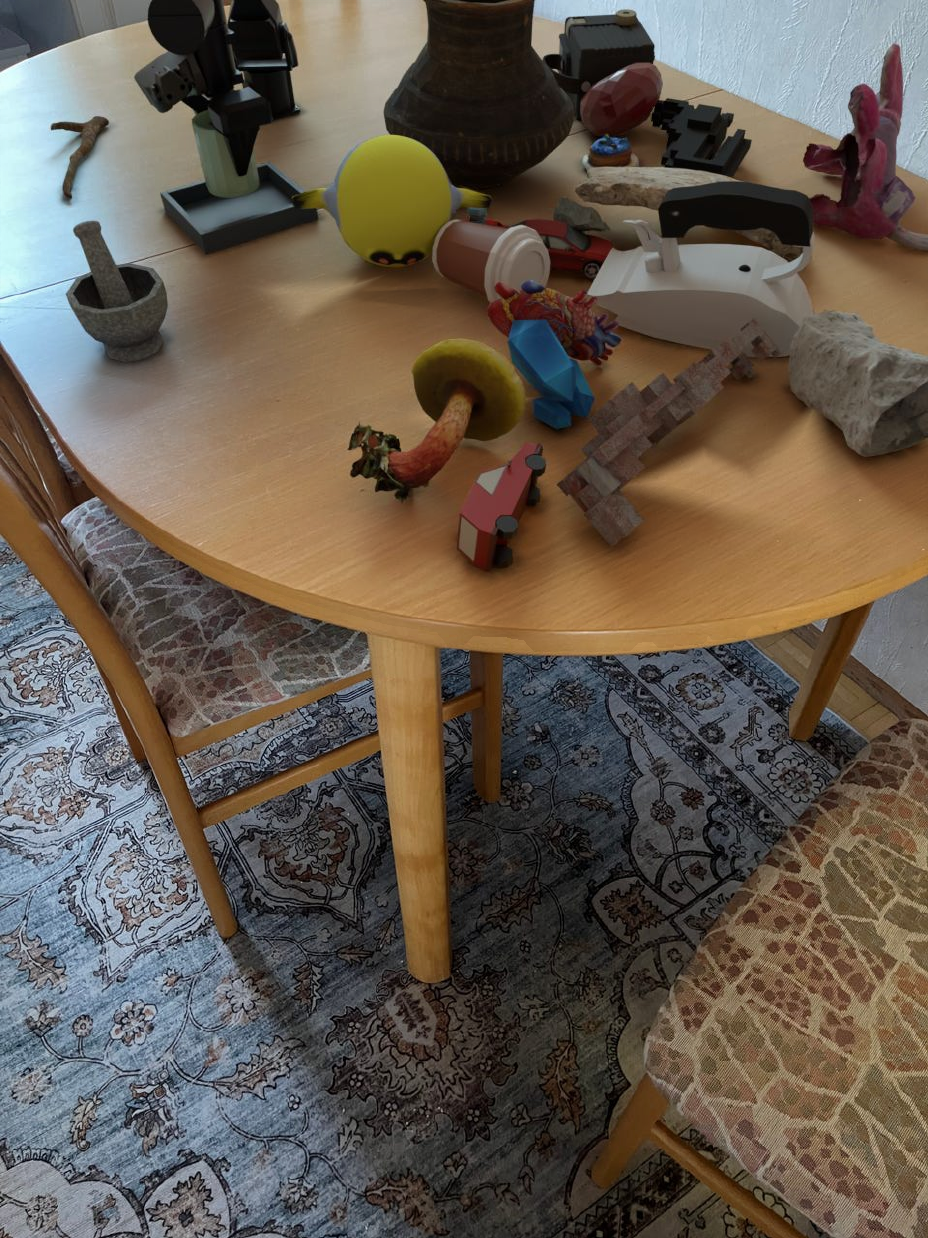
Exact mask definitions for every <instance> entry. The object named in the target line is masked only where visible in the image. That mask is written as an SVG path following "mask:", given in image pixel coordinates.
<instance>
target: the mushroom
mask: <svg viewBox="0 0 928 1238" xmlns="http://www.w3.org/2000/svg"><path fill="white" fill-rule="evenodd" d="M411 374H412V378H413V387H414V391H415V396H416V398H417V401H418V402H419V405H420V407H421V409H422V411H423V412H424V414H426V415H427V417H429V418H430V419H431V420H433V421H434V422H435V423H434V424H433V426H432V427H431V428H430V429H429V431H428V432H427V434H426V435H425V437H424V438H423V440H422V441H421V442H420V443H419V444H418V445H417V446H416V447H414V448H412V449H409V450H407V451H402V448H401V441H400V438H397V435H396V434H391V433H385V432H384V431H382V430H376V429H373V428H372V427H373V426H372V425H371V426H370V424H367V425H362V424H361V422H360V421H358V425H356V427H354V430H353V432H352V433H351V434H350V435H351V436H350V439H349V444H348V448H347V451H353V450H356V449H358V448H360V449H361V457H360V458H359V459H357V460H356V461H354V462H352V465H351V469H350V473H349V476H350V477H351V478H357V477H358V476H362V478H364V479H365V480H369V479H371V478H373V479H374V480H376V483H375V485H374V492H375V493H379V492H387V493H388V492H389V493H391V492H394V491H396V492H395V493H394V495H393V496H394V497H395V500H397V501H400V503H401V504H404V502H405V501H406V500H407V498H410V493H411V490H412V489H419V488H420V487H422V486H423V487H424V488H428V487H429V486H430V481H431V480H432V479H433V478H434V477H435V476H436V475H438V474H439V472H441V470H442V469H444V467H445V465H446V464H447V463H448V462H449V461H450V460H451V458H452V456H453V455H454V454H455V452H456V451H457V450H458V448H459V446H460V445H461V443H462V441H463V439H465V440H477V441H480V442H487V441H492V440H496V439H498V438H499V437H502V436H505V435H506V434H508V433H509V432H511V431H512V430H513V429H514V428H515V426H517V424H518V423H519V422H520V420H521V419H522V416H523V414H524V411H525V409H526V405H527V401H526V397H527V395H526V387H525V385H524V381H523V379H522V378H521V376H519V374H518V373H517V372H516V369H515V365H514V364H513V363H512V361H510V359H509V358H508V357H507V356H505V355H504V354H503V353H502V352H501V351H498V349H495V348H493V347H491V346H489V345H487V344H485V343H483V342H481V341H477V340H473V339H470V338H461V337H460V338H459V337H458V338H448V339H443V340H441V341H439V342H438V343H435V344H433V345H432V346H431V347H429V348H427V349H425V350H423V352H421V353H420V355H419V356H418V357H417V358H416V359H415V362H414V364H413V365H412V369H411ZM384 433H385V434H384Z"/></svg>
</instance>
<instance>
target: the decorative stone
mask: <svg viewBox="0 0 928 1238" xmlns="http://www.w3.org/2000/svg"><path fill="white" fill-rule="evenodd" d="M787 365H788V366H787V374H788V379H789V383H790V384H789V385H790V391H791V392H792V393H793V394H794V396H795V397H796V398H797V399H798V400H800V401H802V402H803V403H804V404H805V405H806V407H808V408H809V409H812V410H814V411H816V412H817V413H819V414H821V415H822V416H824V417H825V418H826V419H828V420H829V421H831V422H833V424H834V425H835V426H837V427H838V428H839V429H840V431H842V434H843V436H844V439H845V442H846V444H847V446H848V447H849V448H850V449H851V450H853V451H854V452H856V453H857V454H858V455H859V456H862V457H864V458H865V457H867V458H868V457H873V456H874V457H875V456H883V455H887V454H890V453H892V452H893V453H894V452H899V451H903V450H905V449H908V448H910V447H913V446H916V445H918V444H920V443H922V442H923V441H925V440H926V439H928V355H925V354H920V353H918V352H915V351H914V350H910V349H908V348H905V347H904V348H903V347H898V346H896V345H893V344H892V345H891V344H887V343H884V342H882V341H881V340H880V339H879V338H878V337H877V336H876V335H875V334H874V332H873V327H872V326H871V325H869V323H866V322H865V321H864V319H863V318H862V316H861V315H859V313H858V312H853V313H852V312H845V311H837V310H827V309H823V310H822V311H820V312H814V314H812V315H811V316H807V317H804V318H803V320H802V322H801V325H800V328H799V329H798V331H797V332H796V333H795V335H794V339H793V341H792V343H791V346H790V355H789V361H788V364H787Z"/></svg>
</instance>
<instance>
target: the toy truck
mask: <svg viewBox="0 0 928 1238" xmlns="http://www.w3.org/2000/svg"><path fill="white" fill-rule="evenodd" d="M543 453H544V447H543V445H542V444H541V443H540V442H537V444H534V443H530V442H526V441H525V442H524V443H523V445H522V446H521V447H520V449H519V450H518V452H517V453H515V455H514V456H513V457H512V458H511V460H507V463H505V464H502V465H498V466H495V467H492V468H489V469H486V470H483V471H480V473H479V474H478V476H477V477H476V478H475V480H474V482H473V484H472V486H471V487H470V489H469V492H468V494H467V496H466V498H465V500H464V502H463V504H462V506H461V509H460V511H459V518H458V532H457V541H456V550H457V551H458V552H459V553H460V554H461V555H462V556H463V557H465V559H466V560H468V561H469V562H470V563H471V564H472V565H473V566H474V567H477V568H479V569H483V570H485V572H487V573H490V572H491V570H492V568H493V566H495V567H497V568H498V569H502V568H503V569H505V568H508V567H509V566H510V565H512V563H513V560H514V552H513V549H512V548H511V547H509V545H510V543H511V540H512V539H514V538H515V537H516V536H517V535H518V530H519V523H520V521H521V519H522V517H523V516H524V515H523V514H524V512H525V511H526V508H527V507H535V506H536V505H537V504H538V503H540V500H541V496H542V493H541V490H540V488H539V487H538V485H537V484H538V479H539V478H540V477H542V476H543V475H544V474H545V473H546V469H547V461H546V458H545V457H544V456H543Z"/></svg>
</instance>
